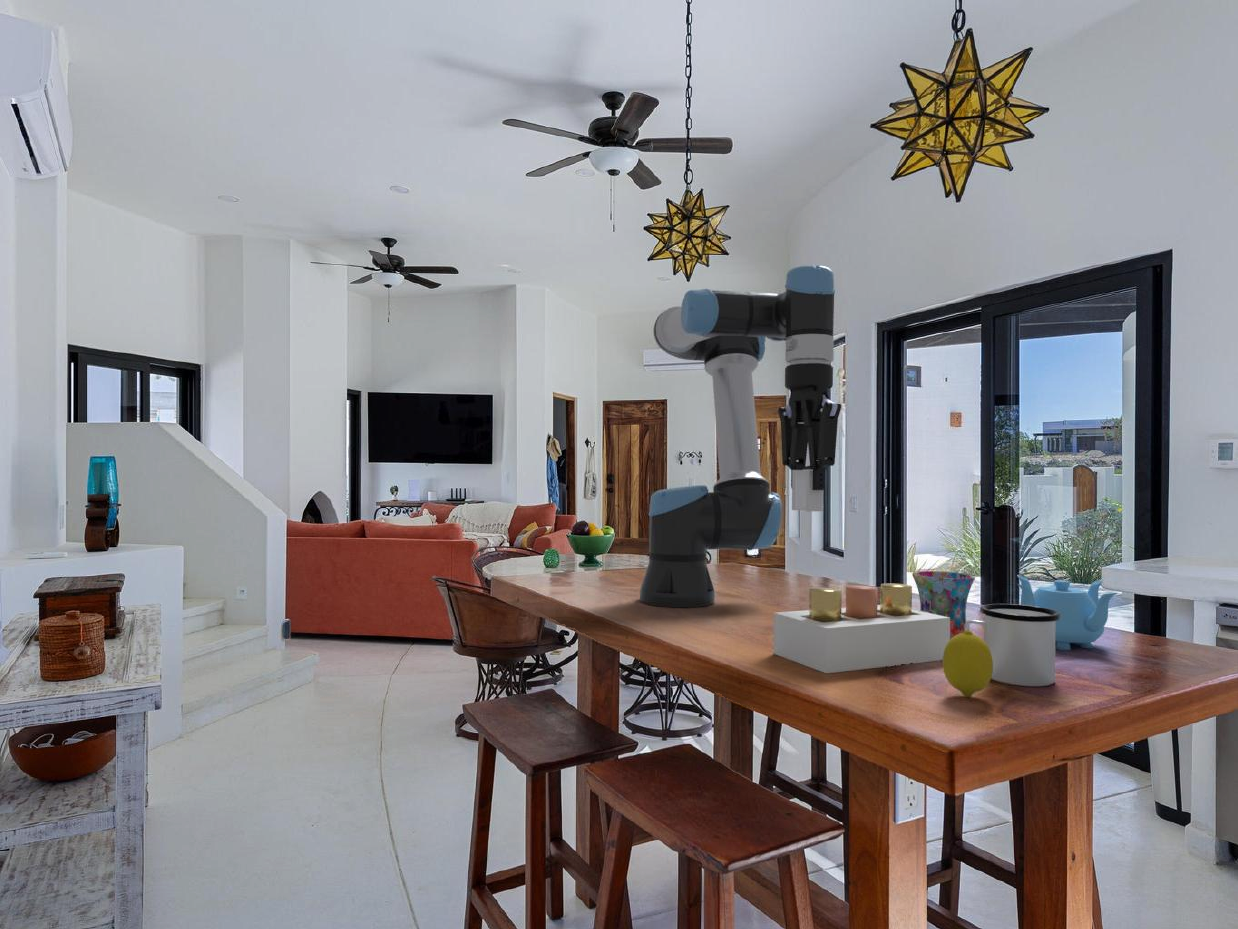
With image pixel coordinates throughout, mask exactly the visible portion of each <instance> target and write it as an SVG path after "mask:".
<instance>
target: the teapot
mask: <svg viewBox="0 0 1238 929" xmlns="http://www.w3.org/2000/svg"><path fill="white" fill-rule="evenodd" d="M1016 576H1017V577H1018V579H1019V582H1020V583H1017V586H1018V587H1019V588H1020V589H1021V594H1020V595H1021V597H1020V605H1028V606H1036V607H1042V608H1047V609H1051V610H1055V611H1057V612H1059V613H1060V616H1061V618H1060V619H1059V620H1057V621H1056V631H1055V650H1060V651H1071V650H1072V648H1071V645H1070V644H1071V643H1072V644H1078V647H1081V648H1084V649H1085V648H1086V649H1095V646H1094V645H1093V644H1092V643H1093V642H1094V643H1095V641H1097V640H1098V639H1099V638H1100V637H1101V636H1102V635H1103V634H1104V632H1105V625H1106V624H1107V622H1108V619H1109V618H1108V617H1109V603H1110V601H1111V599H1112V597H1114V596H1116V595H1117V594H1118V592H1109V593H1102V595H1100V596H1099V589H1100V586H1101V585H1102V583H1103V580H1102V579H1099V580H1095V581H1093V582H1092V583H1091V584H1090V586H1089V588H1088V591H1086V590H1084V589H1079V588H1072V587H1070V586H1071V581H1069V580H1061V579H1059V580H1058V579H1057V580H1054V581H1053V583H1054V586H1040V587H1038V588H1037V589H1036V590H1035V591H1034V592H1033V588H1032V585H1031V582H1030V581H1029V579H1028V578H1026V577H1024V575H1021V574H1017V575H1016Z"/></svg>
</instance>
